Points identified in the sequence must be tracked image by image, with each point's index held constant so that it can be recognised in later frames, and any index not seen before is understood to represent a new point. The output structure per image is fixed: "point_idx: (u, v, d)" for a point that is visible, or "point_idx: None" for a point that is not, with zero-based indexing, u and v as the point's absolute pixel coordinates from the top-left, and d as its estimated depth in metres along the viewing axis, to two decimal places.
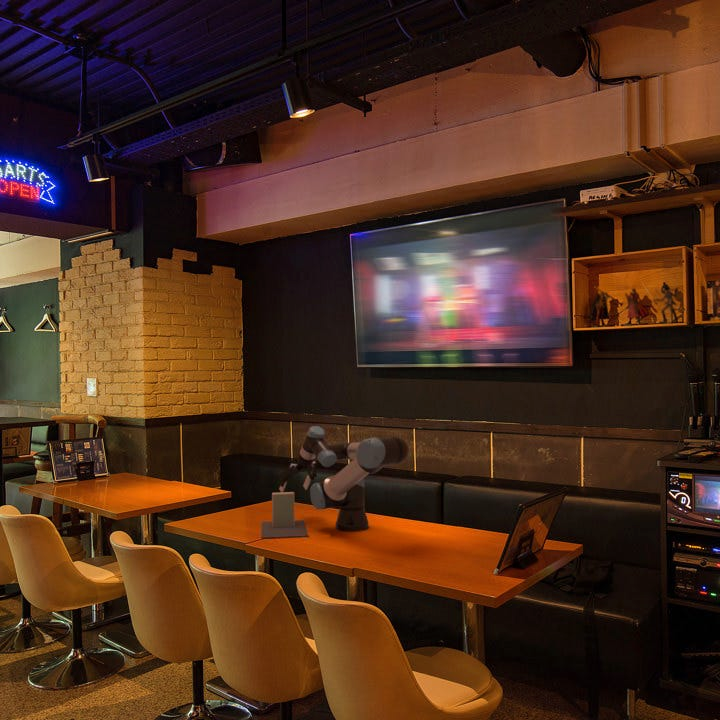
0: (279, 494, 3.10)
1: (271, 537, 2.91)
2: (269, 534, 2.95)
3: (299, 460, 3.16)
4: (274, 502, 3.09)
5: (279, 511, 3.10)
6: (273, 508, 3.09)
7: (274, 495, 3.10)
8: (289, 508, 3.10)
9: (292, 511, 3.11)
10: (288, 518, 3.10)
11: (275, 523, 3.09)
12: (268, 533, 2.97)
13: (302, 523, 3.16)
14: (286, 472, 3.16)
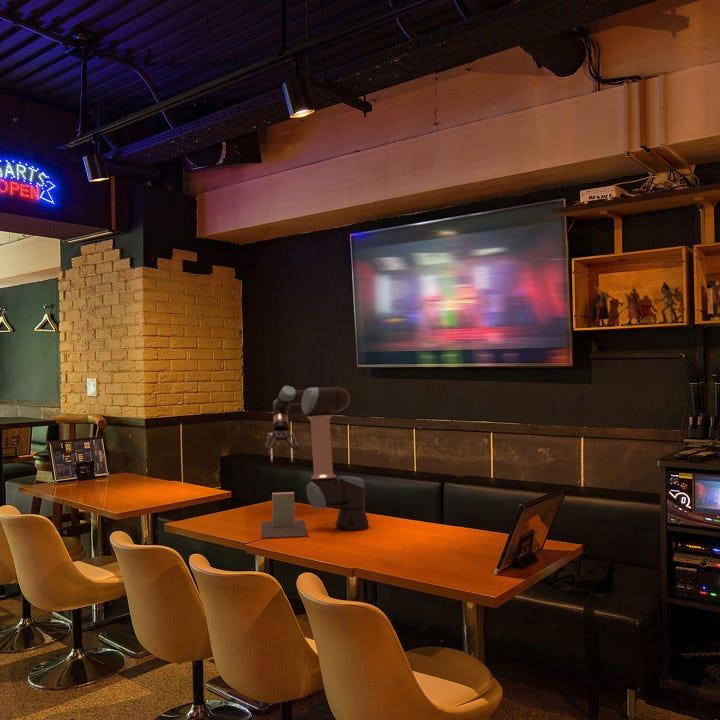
0: (279, 494, 3.10)
1: (271, 537, 2.91)
2: (269, 534, 2.95)
3: (273, 427, 3.42)
4: (274, 502, 3.09)
5: (279, 511, 3.10)
6: (273, 508, 3.09)
7: (274, 495, 3.10)
8: (289, 508, 3.10)
9: (292, 511, 3.11)
10: (288, 518, 3.10)
11: (275, 523, 3.09)
12: (268, 533, 2.97)
13: (302, 523, 3.16)
14: None
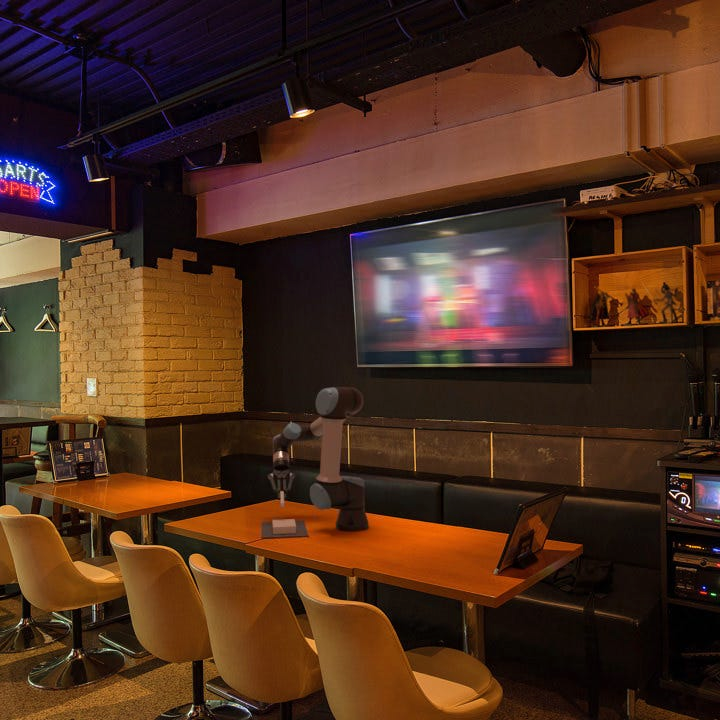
0: (280, 533, 2.95)
1: (271, 537, 2.91)
2: (269, 534, 2.95)
3: (273, 466, 3.23)
4: None
5: None
6: None
7: None
8: None
9: None
10: None
11: None
12: (268, 533, 2.97)
13: (302, 523, 3.16)
14: (271, 483, 3.16)
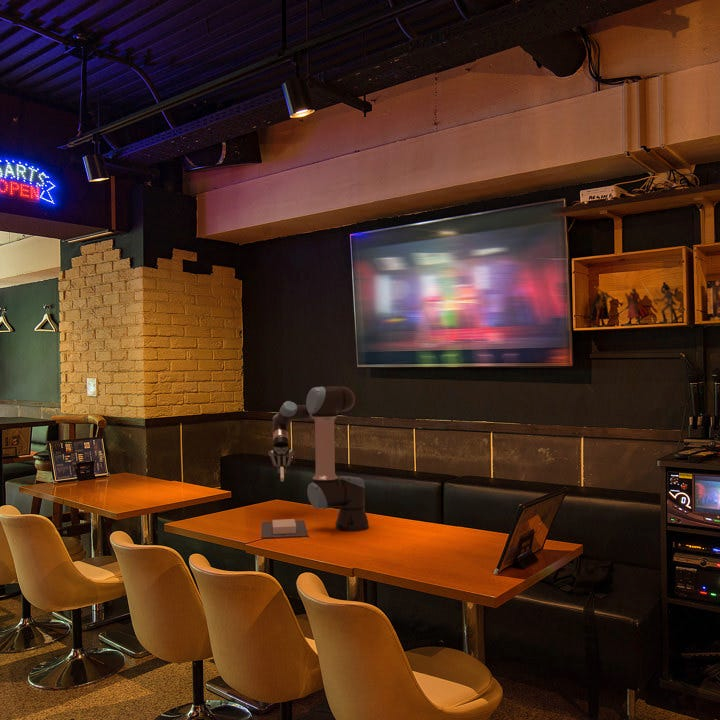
0: (280, 533, 2.95)
1: (271, 537, 2.91)
2: (269, 534, 2.95)
3: (273, 443, 3.35)
4: None
5: None
6: None
7: None
8: None
9: None
10: None
11: None
12: (268, 533, 2.97)
13: (302, 523, 3.16)
14: (271, 459, 3.28)
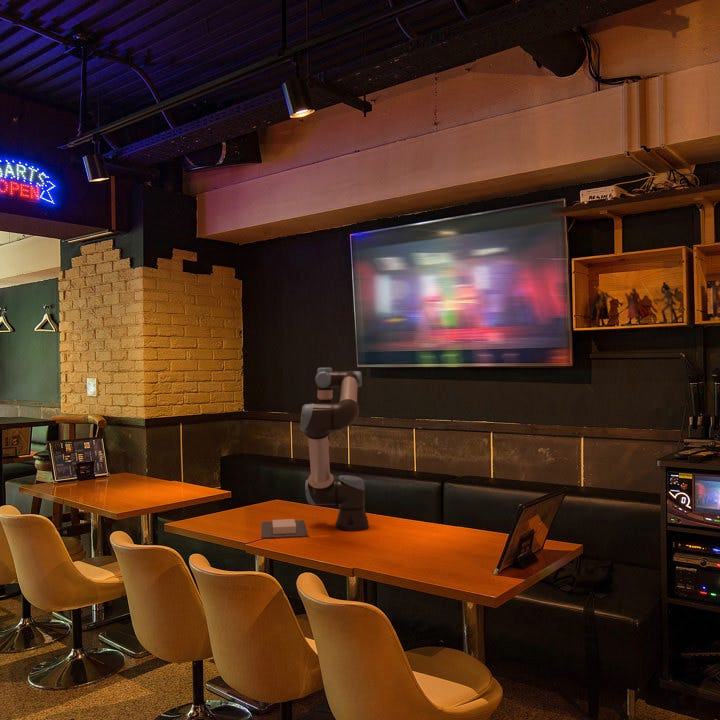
0: (280, 533, 2.95)
1: (271, 537, 2.91)
2: (269, 534, 2.95)
3: None
4: None
5: None
6: None
7: None
8: None
9: None
10: None
11: None
12: (268, 533, 2.97)
13: (302, 523, 3.16)
14: None
